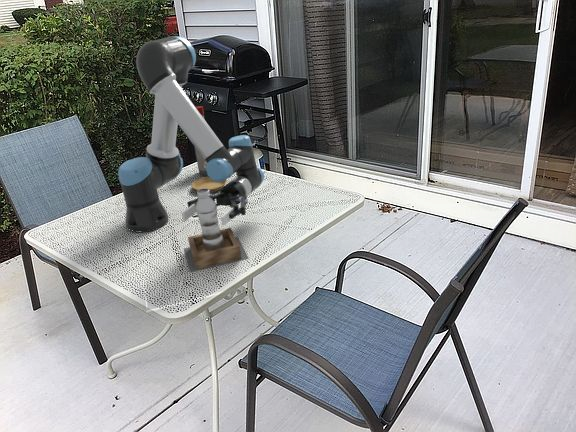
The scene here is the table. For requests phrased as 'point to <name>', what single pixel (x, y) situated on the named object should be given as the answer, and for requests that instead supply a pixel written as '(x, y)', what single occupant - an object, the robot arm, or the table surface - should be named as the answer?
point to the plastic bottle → (208, 221)
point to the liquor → (199, 157)
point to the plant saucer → (208, 184)
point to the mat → (193, 268)
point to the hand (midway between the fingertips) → (202, 219)
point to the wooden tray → (215, 256)
